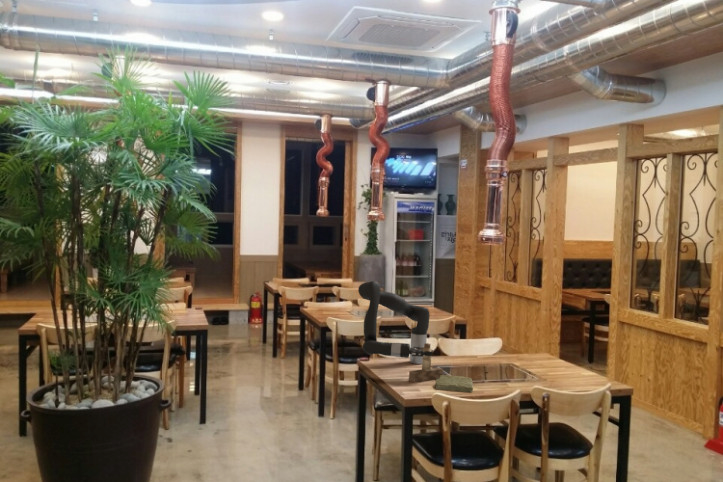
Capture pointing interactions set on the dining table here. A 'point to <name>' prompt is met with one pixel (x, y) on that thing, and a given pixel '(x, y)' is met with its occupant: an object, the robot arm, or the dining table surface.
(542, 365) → the dining table surface
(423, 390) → the dining table surface
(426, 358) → the pepper mill
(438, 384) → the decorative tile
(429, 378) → the rail
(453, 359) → the dining table surface
